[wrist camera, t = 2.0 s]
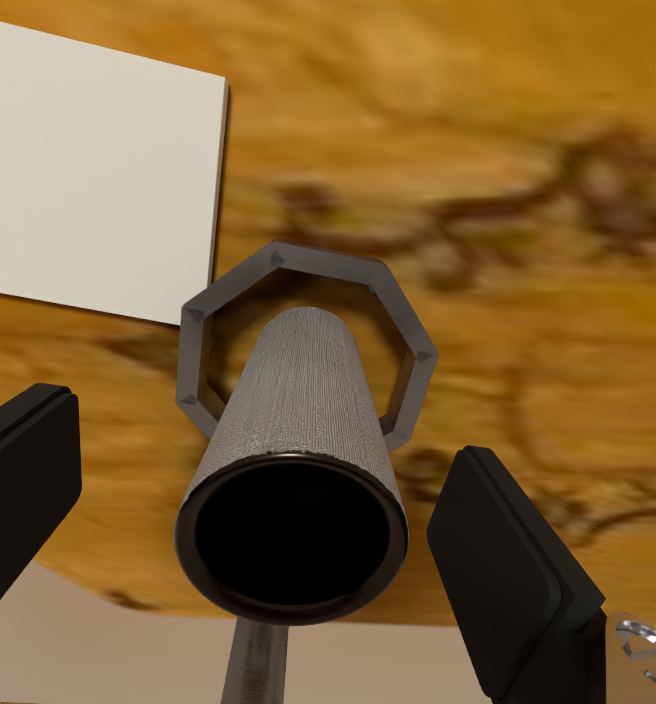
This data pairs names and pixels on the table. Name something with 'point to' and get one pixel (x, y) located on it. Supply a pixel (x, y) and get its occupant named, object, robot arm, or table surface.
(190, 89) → the coaster
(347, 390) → the gray hollow cylinder
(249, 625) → the ring stand
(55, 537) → the table surface
